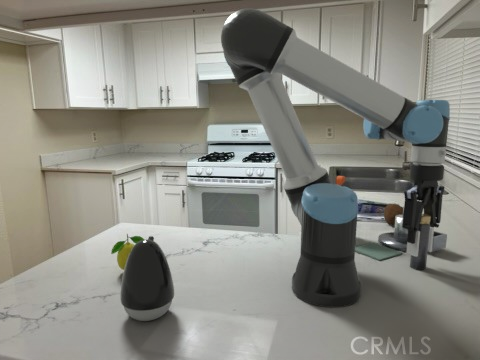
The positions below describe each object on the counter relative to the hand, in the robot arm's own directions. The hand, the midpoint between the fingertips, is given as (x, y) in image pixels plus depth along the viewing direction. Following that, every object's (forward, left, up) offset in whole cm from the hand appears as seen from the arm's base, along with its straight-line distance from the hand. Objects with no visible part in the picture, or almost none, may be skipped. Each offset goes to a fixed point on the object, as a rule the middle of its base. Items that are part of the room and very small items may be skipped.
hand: (419, 252), depth 93 cm
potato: (+28, +27, -4) cm, 39 cm away
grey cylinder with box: (+14, +9, -3) cm, 17 cm away
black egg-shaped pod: (-67, +14, -4) cm, 69 cm away
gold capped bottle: (0, 0, -4) cm, 4 cm away
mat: (0, +13, -4) cm, 14 cm away
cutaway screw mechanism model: (0, +29, -4) cm, 29 cm away
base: (+14, +13, -4) cm, 20 cm away
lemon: (-65, +36, -4) cm, 74 cm away
